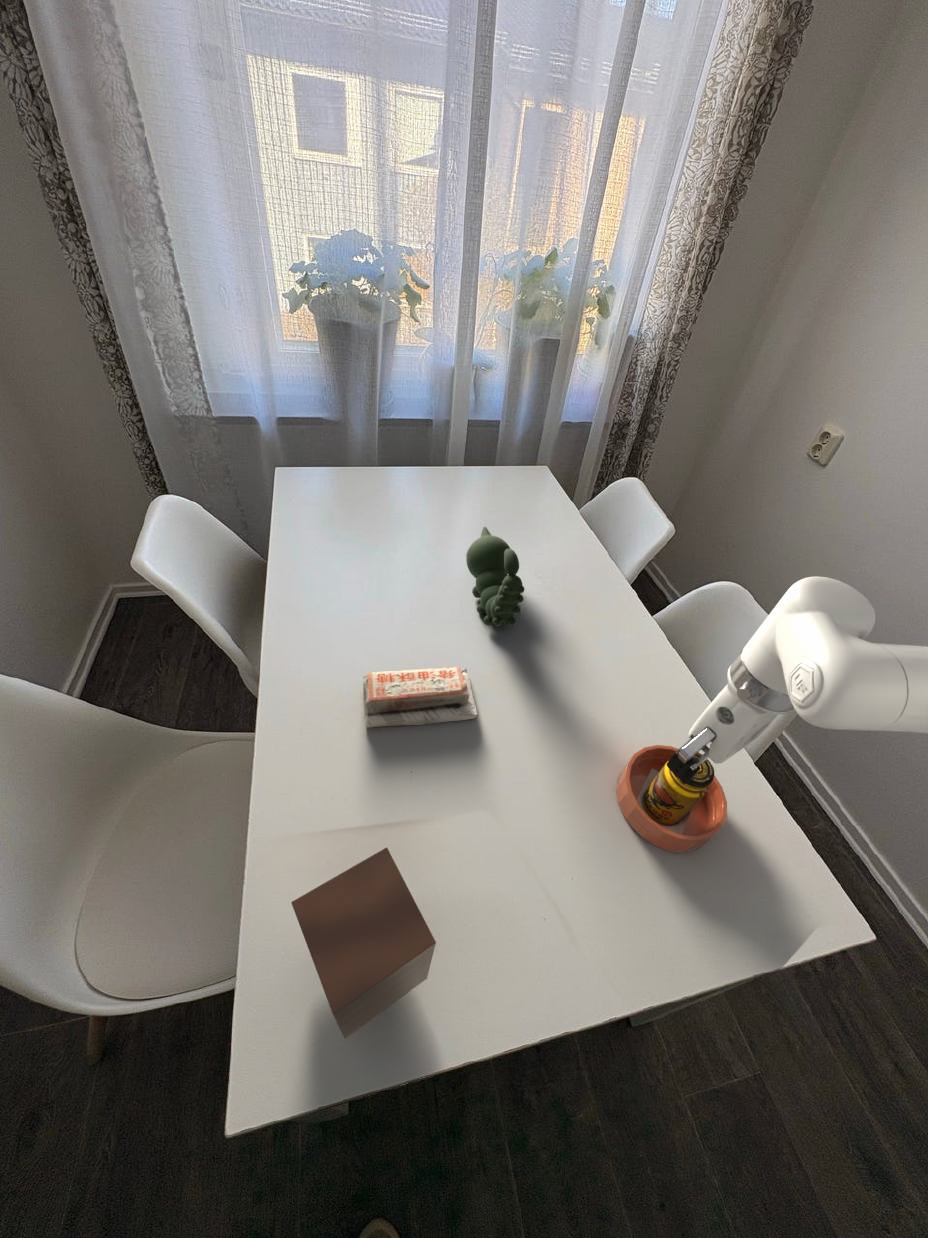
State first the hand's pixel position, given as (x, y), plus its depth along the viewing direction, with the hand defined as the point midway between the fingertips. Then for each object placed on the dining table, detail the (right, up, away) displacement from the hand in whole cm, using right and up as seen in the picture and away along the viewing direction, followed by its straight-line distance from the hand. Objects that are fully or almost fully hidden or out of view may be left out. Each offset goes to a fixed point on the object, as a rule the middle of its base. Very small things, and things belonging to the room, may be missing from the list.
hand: (700, 757), depth 68 cm
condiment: (-1, -9, +9) cm, 13 cm away
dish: (-1, -9, +9) cm, 13 cm away
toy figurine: (-26, +22, +37) cm, 51 cm away
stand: (-42, -21, -9) cm, 48 cm away
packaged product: (-39, +5, +18) cm, 43 cm away
